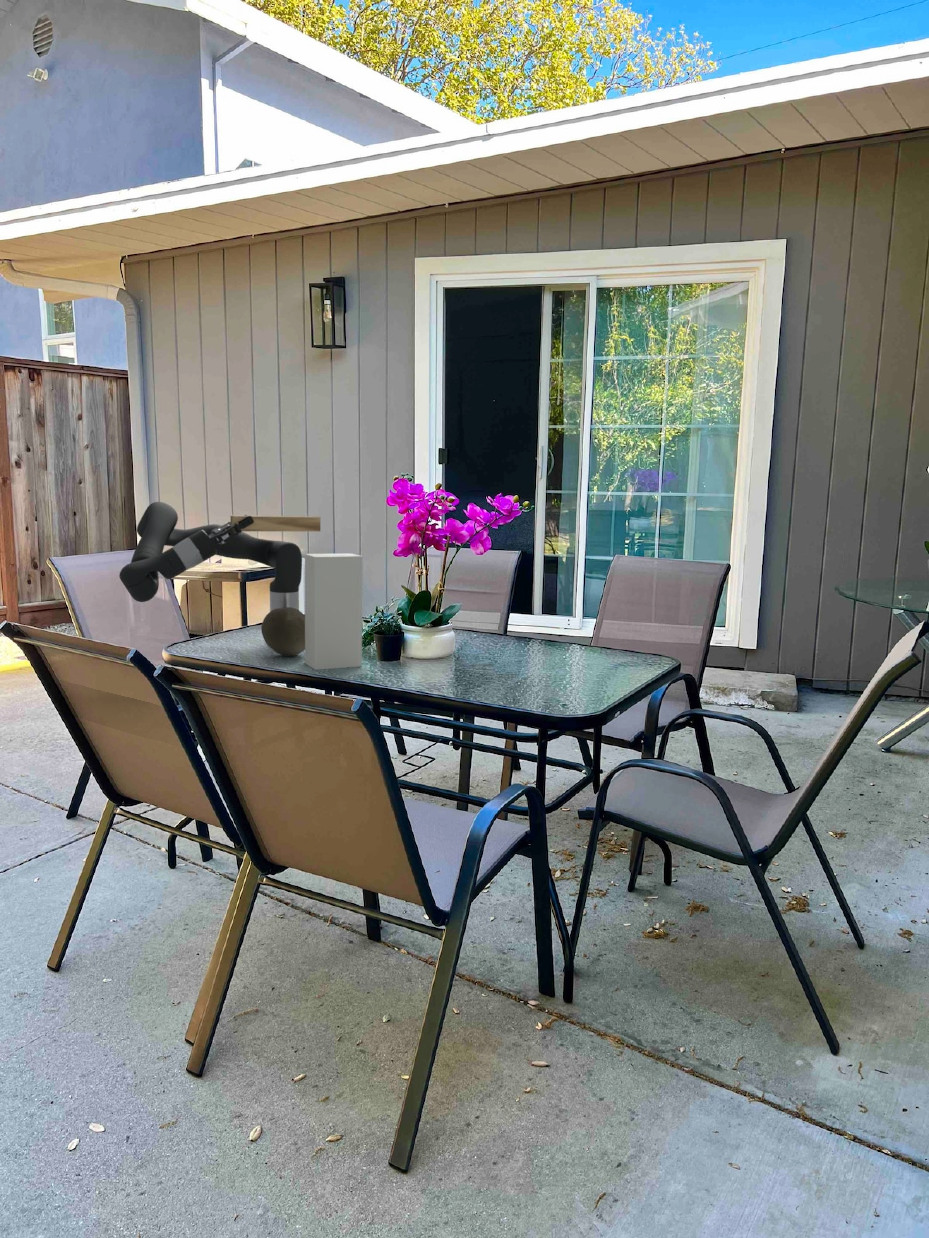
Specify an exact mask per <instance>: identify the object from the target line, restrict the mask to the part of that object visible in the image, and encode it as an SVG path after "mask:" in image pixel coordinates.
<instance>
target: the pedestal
mask: <svg viewBox="0 0 929 1238" xmlns="http://www.w3.org/2000/svg"><path fill="white" fill-rule="evenodd" d="M363 558H364V557H363V555H359V554H355V553H352V552H351V553H349V552H347V553H346V552H345V553H341V552H340V553H304V616H305V650H304V663H305V664H306V665H307V666H309V667H310V668H311V669H313V670H314V671H315V670H318V671H319V670H332V669H345V668H346V669H348V668H347V667H349V668H361V667H362V666H363V573H364V572H363V569H364V568H363Z"/></svg>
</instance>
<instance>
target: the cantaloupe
mask: <svg viewBox="0 0 929 1238" xmlns="http://www.w3.org/2000/svg"><path fill="white" fill-rule="evenodd" d="M260 627H261V634H262V638H263V641H264V643H266V645H267V646H268V647H269V648H270V649H271V650H272V651H274V652H275V653H277V654H279V655H280V656H284V657H295V656H298V655H300V654H302V653H303V652H305V613H303V612H302V611H301V610H300V609H299V610H298V609H295V608H292V607H288V608H277V609H274V610H272V611H271V612H270V611H269V612H268V613H267V614H266V615H265V616H264V619H263V620H262V623H261V625H260Z"/></svg>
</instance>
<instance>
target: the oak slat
mask: <svg viewBox="0 0 929 1238" xmlns="http://www.w3.org/2000/svg"><path fill="white" fill-rule="evenodd" d="M247 516H248V515H247ZM247 516H244V515H230V516H229V517H230V522H231V525H233V524H234V523H236V522H239V521H240V520H242V519H244V518H246V517H247ZM250 516H251V517H252V519H253V520H254V523H253V524H251V525H249V526H247V527H246V528H244V529H243V530H242V532H321V516H310V515H309V516H305V515H304V516H302V515H299V516H297V515H296V516H295V515H294V516H292V515H290V516H289V515H250ZM232 530H233V531H236V529H235V528H233V529H232Z"/></svg>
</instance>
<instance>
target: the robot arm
mask: <svg viewBox="0 0 929 1238" xmlns="http://www.w3.org/2000/svg"><path fill="white" fill-rule="evenodd" d="M243 516H247V517H246V518H244V519H242V520H240V521H239V522H236V523H234V524H233V525H231V521H228V522H227V523H223V524H216V523H215V524H214V523H213V524H204V525H201V526H198V527H193V528H187V529H180V528H179V529H178V528H176V526H177V525H178V524H177V523H178V520H179V516H178V513H177V510H176V509H175V508H174V507H172V505H170V504H169V503H166V502H162V501H153V502H151V503H150V504H149V505H148V506H147V508H146V509H145V511H144V513H143V514H142V517H141V518H140V520H139V521H138V524H137V526H136V533H137V535H138V536H139V537H140V539H139V541H138V543H137V545H136V547H135V550H134V553H133V555H132V557H131V561H130V563H127V564H126V565H124V566H123V567H122V568H121V570H120V571H119V579H120V581H121V583H122V584H123V586H124V587H125V589H126V590H127V592H128V593H129V595H130V597H131V598H132V599H133V600H135V601H136V602H140V603H146V602H148V601H151V600H152V599H153V598H154V597H155V596H156V595H157V593H158V591H159V585H160V584H159V583H160V582H159V573H160V574H161V576H162V577H163V578H164V579H165V580H172V579H174V578H175V577H177V576H179V575H181V574H183V573H184V572H186V571H187V570H189V569H193V568H195V567H196V566H199V565H200V564H202V563H204V562H206V561H207V560H209V559H210V558H211V559H212V557H214V556H219V557H224V558H228V559H236V560H237V559H238V560H249V561H254V562H256V563H259V564H262V565H265V566H267V567H270V568H273V569H275V577H274V579H273V580H272V581H271V582H270V583H269V612H271V611H272V610H274V609H277V608H288V607H292V608H295V609H298V610H299V611H300V609H299V608H300V593H299V590H300V589H299V588H300V585H301V582H302V573H303V568H302V567H303V556H302V551H301V549H300V547H299V546H298V545H297V544H296V543H294V542H291V541H285V540H283V541H282V540H271V539H266V538H258V537H255V536H252V535H250V534H248V533H246V532H245V531H242V530H243V529H244V528H246V527H247V526H249V525H251V524H253V523H254V520H253V519H252V517H251V516H252V515H247V514H244V515H243ZM233 528H235V529H236V531H233V530H232V529H233ZM166 546H167V547H170V548H168V549H166V550H165V551H164V549H165V547H166Z"/></svg>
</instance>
